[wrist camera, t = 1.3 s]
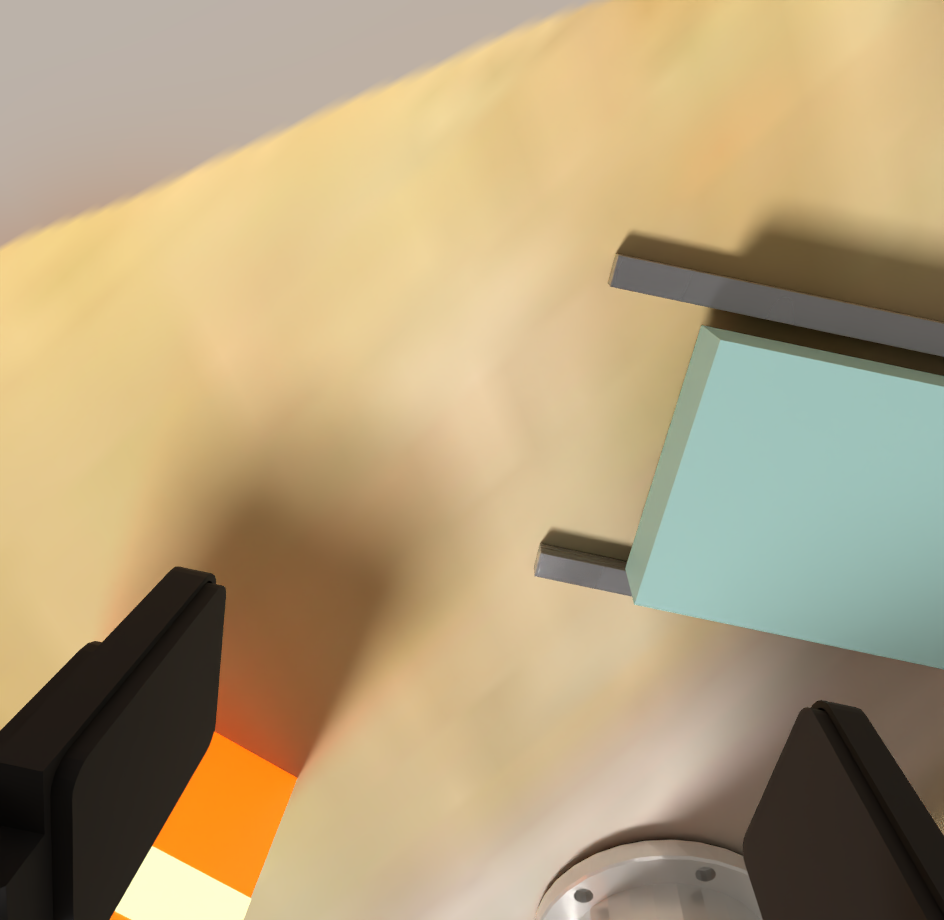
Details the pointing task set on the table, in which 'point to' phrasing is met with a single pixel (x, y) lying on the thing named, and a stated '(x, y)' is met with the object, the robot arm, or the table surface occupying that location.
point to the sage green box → (800, 499)
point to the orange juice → (212, 840)
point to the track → (747, 302)
